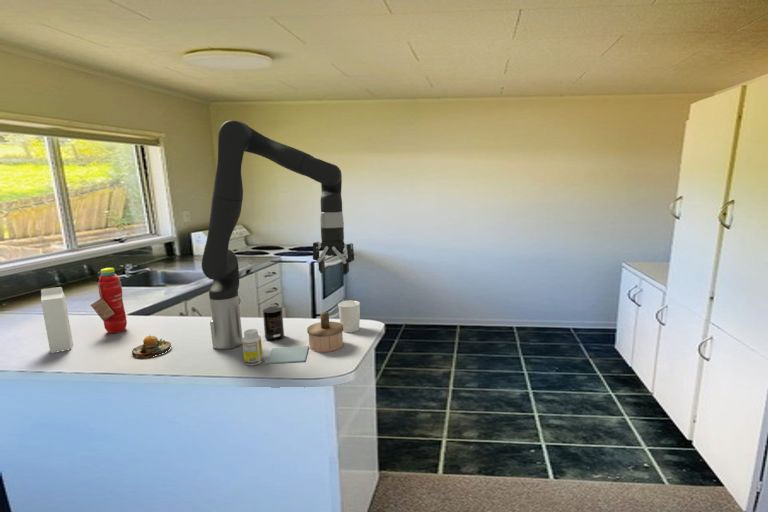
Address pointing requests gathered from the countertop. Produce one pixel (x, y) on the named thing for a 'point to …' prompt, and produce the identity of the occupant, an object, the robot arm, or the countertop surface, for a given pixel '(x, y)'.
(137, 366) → the countertop surface
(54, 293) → the milk
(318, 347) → the bowl
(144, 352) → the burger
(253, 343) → the supplement bottle
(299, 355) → the mat
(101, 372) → the countertop surface
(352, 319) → the white cup
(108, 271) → the water bottle
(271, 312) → the supplement container
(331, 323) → the lid
